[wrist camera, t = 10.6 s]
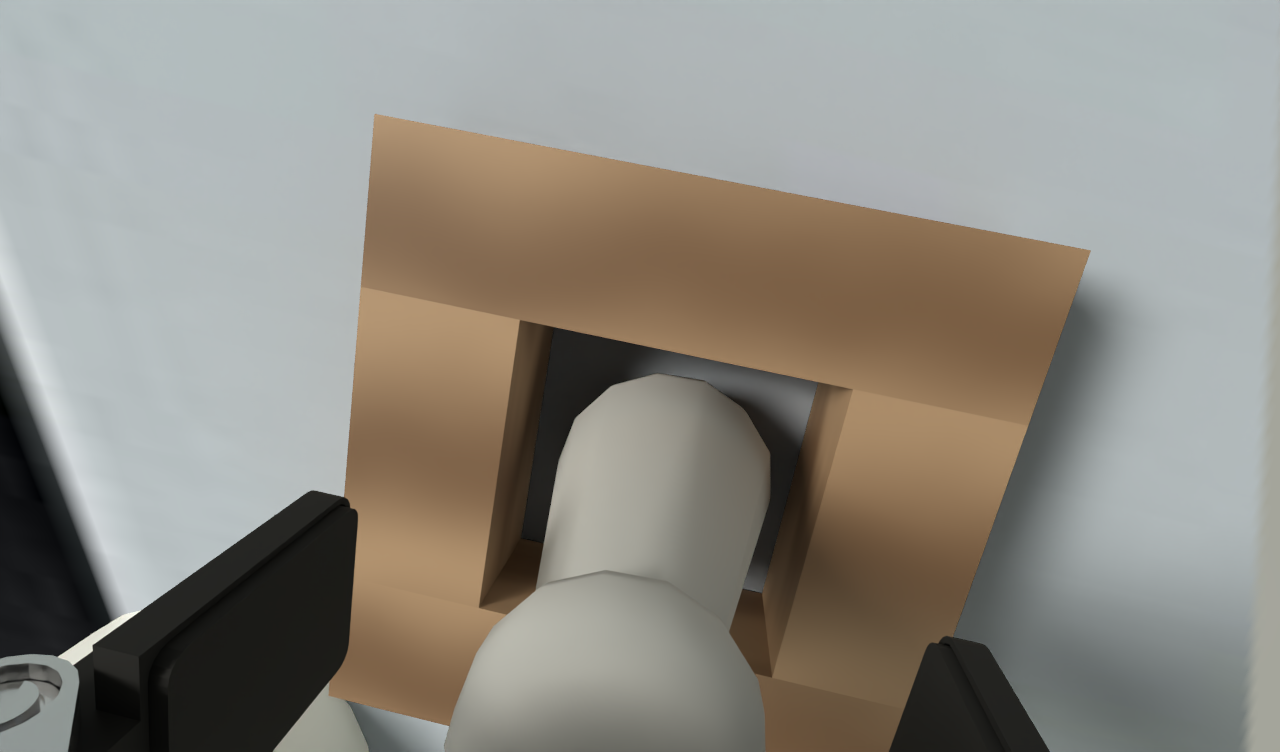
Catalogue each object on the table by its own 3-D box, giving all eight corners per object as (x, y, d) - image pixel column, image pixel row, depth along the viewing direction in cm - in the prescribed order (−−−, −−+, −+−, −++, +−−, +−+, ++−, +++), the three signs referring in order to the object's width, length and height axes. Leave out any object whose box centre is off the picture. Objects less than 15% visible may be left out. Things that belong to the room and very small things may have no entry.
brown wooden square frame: (444, 134, 19) (374, 114, 15) (1010, 242, 18) (1090, 250, 14) (393, 615, 23) (328, 695, 19) (853, 725, 22) (882, 834, 18)
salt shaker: (783, 375, 20) (902, 664, 7) (746, 549, 21) (791, 1048, 8) (588, 342, 20) (372, 558, 7) (566, 514, 21) (352, 941, 9)
